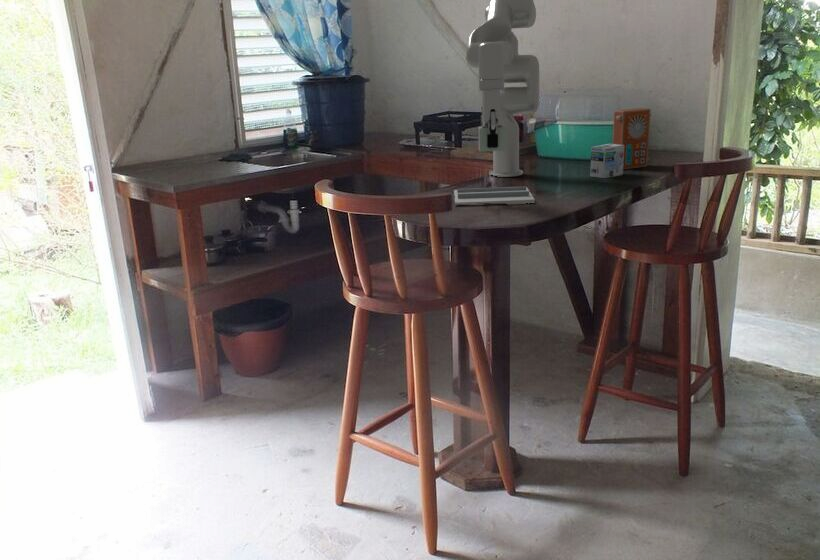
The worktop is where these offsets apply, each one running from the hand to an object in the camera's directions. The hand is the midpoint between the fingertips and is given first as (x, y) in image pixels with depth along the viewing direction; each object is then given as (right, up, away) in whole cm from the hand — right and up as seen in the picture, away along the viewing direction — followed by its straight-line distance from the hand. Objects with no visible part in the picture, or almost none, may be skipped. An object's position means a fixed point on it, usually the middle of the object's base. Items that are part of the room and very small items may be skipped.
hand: (492, 145), depth 214 cm
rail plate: (+1, -16, +5) cm, 17 cm away
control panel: (+58, +1, +49) cm, 76 cm away
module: (0, -1, 0) cm, 1 cm away
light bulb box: (+45, -4, +34) cm, 57 cm away
